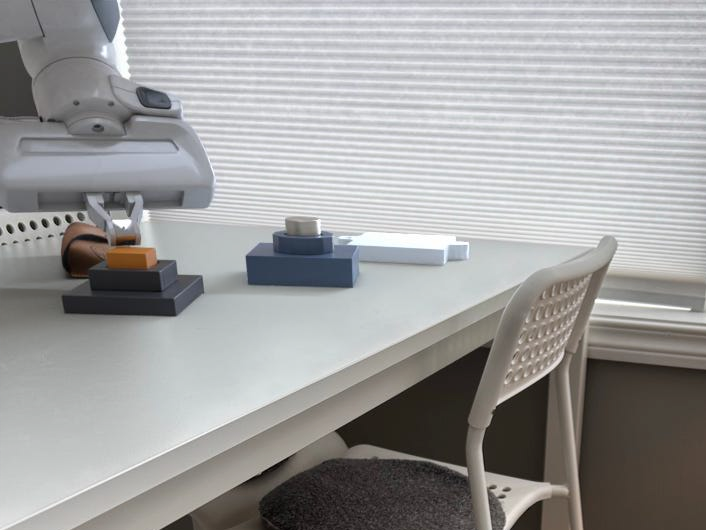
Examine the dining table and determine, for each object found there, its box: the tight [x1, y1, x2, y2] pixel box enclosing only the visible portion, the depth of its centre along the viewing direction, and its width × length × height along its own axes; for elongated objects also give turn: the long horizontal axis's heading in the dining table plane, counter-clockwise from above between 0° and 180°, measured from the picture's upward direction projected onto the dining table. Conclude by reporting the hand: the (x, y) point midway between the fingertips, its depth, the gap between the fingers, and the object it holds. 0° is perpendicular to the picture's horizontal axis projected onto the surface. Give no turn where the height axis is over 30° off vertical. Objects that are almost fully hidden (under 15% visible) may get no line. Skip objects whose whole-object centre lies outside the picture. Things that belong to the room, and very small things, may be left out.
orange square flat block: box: [106, 246, 158, 269], centre depth 89 cm, size 4×4×2 cm
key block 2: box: [244, 229, 360, 289], centre depth 112 cm, size 12×10×5 cm
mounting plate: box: [337, 231, 470, 266], centre depth 130 cm, size 18×13×2 cm
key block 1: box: [61, 259, 205, 317], centre depth 91 cm, size 10×12×5 cm
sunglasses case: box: [60, 221, 131, 279], centre depth 115 cm, size 18×7×7 cm
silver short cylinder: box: [284, 216, 321, 237], centre depth 110 cm, size 4×4×2 cm
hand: (125, 242), depth 90 cm, fingers closed
